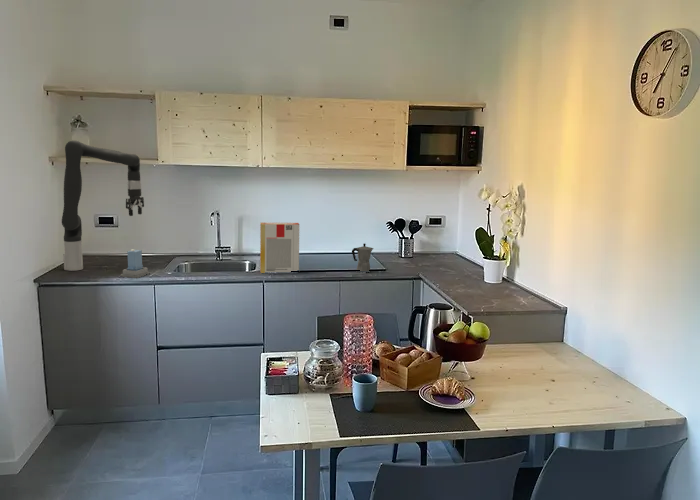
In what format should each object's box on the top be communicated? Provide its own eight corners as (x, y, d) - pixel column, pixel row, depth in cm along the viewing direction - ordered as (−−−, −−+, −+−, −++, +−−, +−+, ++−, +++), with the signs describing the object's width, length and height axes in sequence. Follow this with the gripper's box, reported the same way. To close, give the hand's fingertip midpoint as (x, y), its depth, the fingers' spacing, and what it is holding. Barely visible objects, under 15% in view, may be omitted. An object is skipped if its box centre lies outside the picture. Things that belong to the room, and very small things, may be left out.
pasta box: (297, 270, 337) (298, 222, 331) (298, 273, 329) (299, 224, 323) (260, 270, 333) (260, 222, 327) (260, 273, 325) (260, 224, 319)
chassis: (120, 276, 307) (120, 270, 306) (133, 272, 318) (133, 266, 318) (137, 278, 304) (137, 271, 304) (150, 273, 316) (149, 267, 315)
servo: (126, 274, 307) (125, 250, 305) (136, 271, 316) (135, 247, 314) (134, 275, 306) (133, 250, 304) (144, 271, 315) (143, 248, 312)
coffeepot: (368, 269, 346) (369, 241, 343) (376, 272, 338) (377, 244, 335) (347, 271, 339) (348, 243, 335) (355, 274, 330) (355, 245, 327)
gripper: (136, 187, 331) (137, 213, 334) (121, 188, 318) (122, 215, 321) (147, 187, 330) (148, 214, 333) (132, 189, 316) (133, 216, 319)
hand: (135, 215), depth 327 cm, fingers open, 8 cm apart
